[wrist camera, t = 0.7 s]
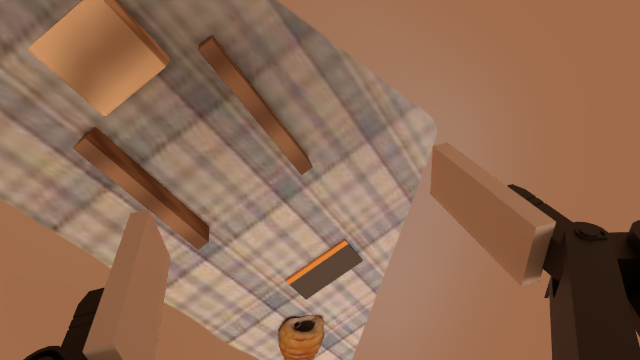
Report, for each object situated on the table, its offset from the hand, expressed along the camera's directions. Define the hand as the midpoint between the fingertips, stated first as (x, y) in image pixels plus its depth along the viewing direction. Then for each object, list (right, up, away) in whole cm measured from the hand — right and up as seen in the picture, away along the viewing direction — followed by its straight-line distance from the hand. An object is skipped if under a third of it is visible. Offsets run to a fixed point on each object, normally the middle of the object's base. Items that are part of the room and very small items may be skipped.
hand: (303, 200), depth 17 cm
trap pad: (+1, -12, +34) cm, 36 cm away
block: (-18, +13, +16) cm, 27 cm away
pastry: (-2, -22, +40) cm, 46 cm away
